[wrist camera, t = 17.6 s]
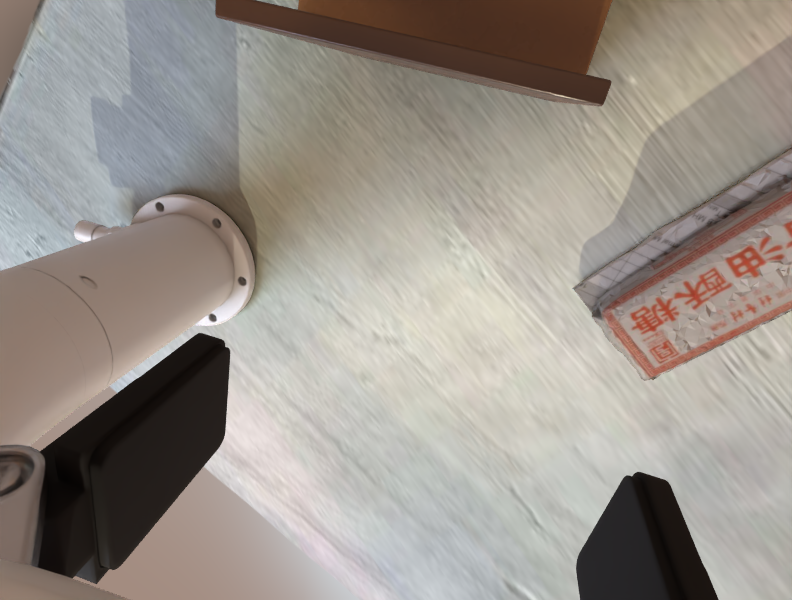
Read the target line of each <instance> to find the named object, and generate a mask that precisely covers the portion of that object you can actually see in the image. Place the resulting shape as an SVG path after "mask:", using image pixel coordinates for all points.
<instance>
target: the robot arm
mask: <svg viewBox="0 0 792 600" xmlns="http://www.w3.org/2000/svg"><path fill="white" fill-rule="evenodd" d="M74 235H75V237H76V239H78V240H79V241H82V242H85V243H82V244H79V245H76V246H73V247H70V248H67V249H64V250H61V251H58V252H55V253H53V254H50V255H47V256H44V257H41V258H38V259H35V260H32V261H29V262H26V263H23V264H20V265H17V266H14V267H12V268H8V269H5V270H2V271H0V600H129V599H127V598H124V597H121V596H119V595H116V594H113V593H110V592H108V591H105V590H102V589H100V588H96V587H94V586H91V585H89V584H86V583H83V582H80V581H78V580H74V579H72V578H73V577H74V576H77V577H80V578H82V579H85V580H87V581H90V582H93V583H95V584H97V583H98V582H99V580H100V579H101V578H102V577H103V576H104V574H105V573H106V572H107V571H108V570H109V569H112V570H115V569H117V568H118V567H119V566H121V565H122V564H123V562H124V561H125V560H126V559H127V558H128V556H129V555H130V554H131V553H132V552H133V550H134V549H135V548H136V547H137V546H138V544H139V543H140V542H141V541H142V540H143V538H144V537H145V536H146V535H147V534H148V532H149V531H150V530H151V529H152V528H153V526H154V525H155V524H156V523H157V522H158V520H159V519H160V518H161V517H162V516H163V514H164V513H165V512H166V511H167V510H168V508H169V507H170V506H171V505H172V504H173V502H174V501H175V500H176V499H177V498H178V496H179V495H180V494H181V493H182V491H183V490H184V489H185V488H186V487H187V486H188V484H189V483H190V482H191V481H192V479H193V478H194V477H195V476H196V474H197V473H198V472H199V471H200V470H201V469H202V467H203V466H204V465H205V464H206V463H207V461H208V460H209V459H210V458H211V457H212V455H213V454H214V453H215V452H216V451H217V449H218V448H219V447H220V445H221V443H222V441H223V439H224V436H225V428H226V412H227V396H228V380H229V365H230V350H229V348H227V347H225V343H224V341H223V340H222V339H219V338H215V337H212V336H209V335H206V334H203V333H198V334H197V335H195V336H194V337H192V338H191V339H190V340H188V341H187V342H186V343H184V344H183V345H182V346H180V347H179V348H178V349H176V350H175V351H174V352H172V353H171V354H170V355H169V356H167V357H166V358H165V359H163V360H162V361H161V362H159V363H158V364H157V365H155V366H154V367H153V368H151V369H150V370H149V371H147V372H146V373H145V374H143V375H142V376H141V377H139V378H137V379H136V380H134V381H133V382H132V383H130V384H129V385H128V386H126V387H125V388H124V389H122V390H121V391H120V392H118V393H117V394H116V395H114V396H113V397H112V398H111V399H109V400H108V401H107V402H105V403H104V404H103V405H101V406H100V407H99V408H97V409H96V410H95V411H93V412H92V413H91V414H89V415H88V416H87V417H85V418H84V419H83V420H81V421H80V422H79V423H77V424H76V425H75V426H73V427H72V428H71V429H69V430H68V431H67V432H66V433H64V434H63V435H61V436H60V437H59V438H57V439H56V440H55V441H53V442H52V443H51V444H49V445H48V446H47V447H46V448H44V449H43V450H41V451H40V452H39V451H38V450H36V449H34V448H32V447H30V445H32V444H33V443H34V442H35V441H36V440H38V439H39V438H40V437H41V436H43V435H44V434H45V433H46V432H48V431H49V430H50V429H51V428H52V427H54V426H55V425H56V424H58V423H59V422H60V421H62V420H63V419H65V418H66V417H67V416H68V415H70V414H71V413H72V412H74V411H75V410H77V409H78V408H79V407H81V406H82V405H83V404H85V403H86V402H88V401H89V400H90V399H92V398H93V397H94V396H96V395H97V394H99V393H100V392H101V391H103V390H104V389H106V388H107V387H108V386H110V385H111V384H113V383H114V382H115V381H117V380H118V379H120V378H121V377H122V376H124V375H125V374H127V373H128V372H129V371H131V370H132V369H133V368H135V367H136V366H138V365H139V364H140V363H142V362H143V361H145V360H146V359H147V358H149V357H150V356H152V355H153V354H154V353H156V352H157V351H158V350H160V349H161V348H163V347H164V346H165V345H167V344H168V343H170V342H171V341H172V340H174V339H175V338H177V337H178V336H179V335H181V334H182V333H183V332H185V331H186V330H188V329H189V328H190V327H192V326H193V325H198V326H212V325H218V324H221V323H223V322H226V321H228V320H230V319H231V318H233V317H234V316H235V315H237V314H238V313H239V312H240V311H241V310H242V309H243V308H244V307H245V306H246V304H247V303H248V301H249V300H250V298H251V295H252V292H253V289H254V283H255V265H254V260H253V256H252V252H251V250H250V248H249V245H248V243H247V241H246V239H245V237H244V235H243V234H242V232H241V231H240V229H239V228H238V226H237V225H236V224H235V223H234V222H233V221H232V220H231V218H230V217H229V216H228V215H226V214H225V213H224V212H223V211H222V210H220V209H219V208H218V207H216V206H215V205H213V204H211V203H210V202H208V201H206V200H203V199H201V198H198V197H195V196H191V195H185V194H170V195H167V196H163V197H159V198H156V199H154V200H152V201H149V202H148V203H146V204H145V205H144V206H143V207H141V208H140V209H139V211H138V212H137V213H136V215H135V216H134V218H133V220H132V222H131V224H130V225H129V226H127V227H124V228H122V227H119V226H114V227H112V228H107V227H105V226H103V225H100V224H96V223H93V222H89V221H86V220H82V221H79V222H78V223H77V224H76V226H75V228H74ZM576 572H577V580H578V587H579V594H580V600H718V597H717V595H716V593H715V590H714V588H713V585H712V583H711V580H710V578H709V576H708V573H707V571H706V569H705V567H704V565H703V564H702V561H701V559H700V556H699V554H698V552H697V549H696V547H695V544H694V542H693V539H692V537H691V535H690V532H689V530H688V527H687V525H686V522H685V520H684V518H683V515H682V513H681V510H680V508H679V505H678V503H677V501H676V498H675V496H674V493H673V491H672V488H671V486H670V484H669V483H668V482H667V481H666V480H664V479H660V478H657V477H654V476H651V475H648V474H645V473H641V472H636V473H635V474H634V475H633V476H625V477H624V478H623V480H622V481H621V483H620V485H619V487H618V488H617V490H616V492H615V493H614V495H613V497H612V499H611V500H610V502H609V504H608V505H607V507H606V509H605V511H604V512H603V514H602V516H601V517H600V519H599V521H598V523H597V524H596V526H595V528H594V529H593V531H592V533H591V534H590V536H589V538H588V540H587V541H586V543H585V545H584V546H583V548H582V550H581V552H580V553H579V556H578V559H577V565H576Z"/></svg>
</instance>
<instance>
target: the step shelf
mask: <svg viewBox="0 0 792 600" xmlns="http://www.w3.org/2000/svg"><path fill="white" fill-rule="evenodd" d="M611 3H612V0H299V5H298V10H296V9H292V8H288V7H283V6H279V5H274V4H270V3H265V2H261V1H257V0H216V17H218V18H221V19H225V20H228V21H232V22H236V23H239V24H243V25H247V26H250V27H254V28H258V29H262V30H265V31H269V32H273V33H276V34H280V35H284V36H287V37H291V38H295V39H298V40H302V41H306V42H309V43H313V44H317V45H320V46H324V47H328V48H331V49H335V50H339V51H342V52H346V53H350V54H353V55H357V56H361V57H365V58H369V59H373V60H377V61H382V62H386V63H390V64H395V65H399V66H403V67H407V68H412V69H416V70H420V71H425V72H429V73H433V74H437V75H442V76H446V77H450V78H455V79H459V80H463V81H467V82H472V83H476V84H480V85H485V86H489V87H493V88H497V89H502V90H506V91H510V92H515V93H519V94H523V95H527V96H532V97H536V98H540V99H544V100H549V101H553V102H562V103H572V104H582V105H592V106H602V105H603V104H604V102H605V99H606V96H607V94H608V91H609V88H610V86H611V81H610V80H607V79H603V78H598V77H594V76H590V75H586V74H587V71H588V68H589V65H590V62H591V60H592V57H593V54H594V51H595V48H596V45H597V43H598V40H599V37H600V34H601V31H602V28H603V26H604V23H605V20H606V17H607V14H608V11H609V9H610V6H611Z"/></svg>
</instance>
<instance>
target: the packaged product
mask: <svg viewBox="0 0 792 600" xmlns="http://www.w3.org/2000/svg"><path fill="white" fill-rule="evenodd" d="M573 289H574V290H575V292H576V293H577V294H578V296H579V297H580V298H581V300H582V301H583V302H584V303H585V305H586V306H587V307H588V309H589V310H590V311H591V313H592V317H593V319H594V320H595V322H596V323H597V324H598V325H599V326H600V327H601V328H602V331H603V333H604V335H605V337H606V338H607V339H608V340H609V341H610V342H611V343H612V345H613V346H614V347H615V348H616V349H617V350H618V351H620V352H621V353H623V354H624V356H625V357H626V358H627V359H628V361H629V362H630V364H631V365H632V366H633V367H634V368H635V369H636V370H637V372H638V374H639V376H640V377H641V379H643V380H644V381H645V380H650V379H652V380H654V379H655V378H657V377H658V376H659V375H661V374H662V373H666V372H669V371H671V370H672V369H674V368H676V367H678V366H680V365H682V364H685V363H687V362H688V361H690V360H692V359H694V358H696V357H698V356H701V355H703V354H705V353H707V352H709V351H711V350H712V349H714V348H716V347H719V346H722V345H723V344H725V343H726V342H729V341H731V340H733V339H735V338H737V337H739V336H741V335H743V334H746V333H748V332H750V331H752V330H754V329H756V328H757V327H759V326H760V325H763V324H765V323H768V322H770V321H772V320H774V319H776V318H778V317H780V316H782V315H784V314H786V313H788V312H790V311H792V149H790V150H788V151H787V152H785V153H784V154H782V155H781V156H779V157H777V158H776V159H774V160H773V161H771V162H770V163H768V164H767V165H765V166H763V167H762V168H760V169H759V170H757V171H756V172H755V173H753V174H752V175H750V176H749V177H747V178H746V179H745V180H743V181H742V182H740V183H738V184H737V185H735V186H733V187H732V188H730V189H728V190H727V191H725V192H723V193H722V194H720V195H718V196H717V197H715V198H713V199H712V200H710V201H708V202H707V203H705V204H703V205H702V206H700V207H698V208H697V209H695V210H693V211H692V212H690V213H688V214H687V215H685V216H683V217H681V218H679V219H677V220H675V221H673V222H672V223H670V224H668V225H666V226H664V227H662V228H660V229H658V230H656V231H655V232H654V233H653V234H652V235H650V236H649V237H648V238H647V239H646V240H644V241H643V242H642V243H641V244H640V245H639V246H637V247H636V248H635V249H633V250H632V251H630V252H628V253H627V254H625V255H623V256H621V257H620V258H618V259H616V260H614V261H613V262H611V263H610V264H608V265H607V266H605V267H604V268H602V269H601V270H599V271H598V272H596V273H595V274H593V275H592V276H590V277H589V278H587V279H586V280H584V281H583V282H581V283H580V284H578V285H577V286H575V287H574V288H573Z"/></svg>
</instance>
